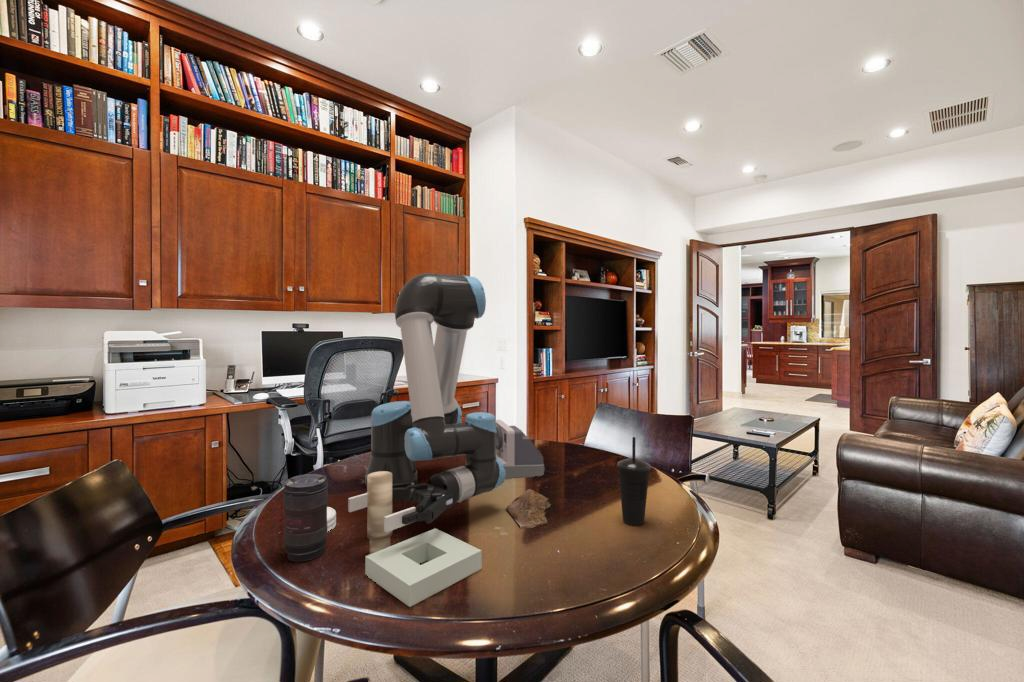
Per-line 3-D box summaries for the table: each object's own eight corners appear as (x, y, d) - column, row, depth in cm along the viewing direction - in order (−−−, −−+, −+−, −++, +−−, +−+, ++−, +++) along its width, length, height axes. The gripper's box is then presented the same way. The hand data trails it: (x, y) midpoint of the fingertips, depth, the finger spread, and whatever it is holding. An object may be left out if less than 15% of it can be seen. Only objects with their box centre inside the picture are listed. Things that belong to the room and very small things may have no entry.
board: (365, 575, 81) (365, 556, 81) (435, 544, 93) (435, 528, 93) (409, 607, 72) (409, 585, 72) (481, 568, 84) (481, 550, 84)
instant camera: (478, 461, 155) (478, 418, 155) (537, 459, 157) (537, 417, 157) (481, 481, 134) (481, 431, 134) (548, 479, 136) (548, 430, 136)
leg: (362, 554, 89) (362, 475, 89) (384, 546, 92) (384, 469, 92) (375, 563, 86) (375, 480, 85) (397, 553, 89) (397, 474, 89)
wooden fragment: (546, 531, 100) (546, 526, 100) (498, 528, 102) (498, 523, 102) (553, 492, 126) (553, 488, 126) (514, 490, 127) (514, 486, 127)
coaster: (288, 543, 94) (288, 526, 94) (287, 524, 103) (287, 509, 103) (338, 533, 99) (338, 517, 99) (333, 516, 108) (333, 502, 108)
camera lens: (282, 567, 84) (281, 488, 84) (285, 548, 91) (284, 476, 91) (328, 559, 87) (328, 483, 87) (327, 541, 94) (327, 471, 94)
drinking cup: (650, 517, 107) (651, 435, 107) (649, 530, 100) (650, 442, 100) (618, 513, 110) (618, 432, 109) (615, 525, 102) (615, 439, 102)
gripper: (488, 518, 94) (402, 554, 78) (418, 490, 111) (336, 515, 95) (488, 483, 94) (402, 512, 78) (418, 460, 111) (335, 480, 95)
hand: (365, 514), depth 87 cm, fingers open, 13 cm apart
